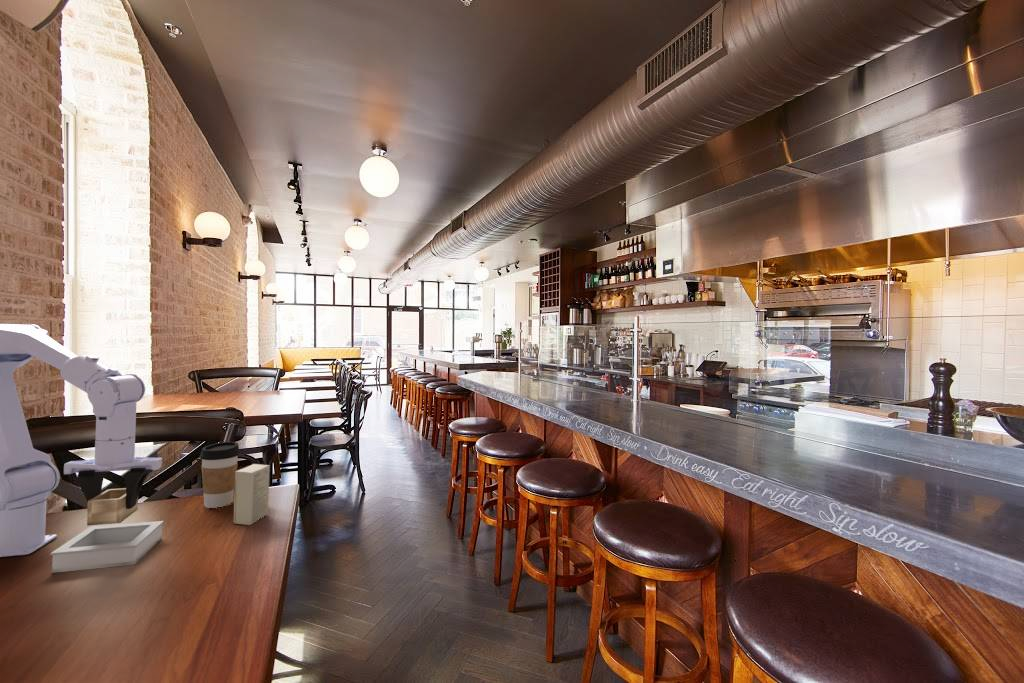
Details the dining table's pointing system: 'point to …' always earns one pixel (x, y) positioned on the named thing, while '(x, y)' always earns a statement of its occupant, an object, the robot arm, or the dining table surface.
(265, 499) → the skincare box
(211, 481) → the coffee cup
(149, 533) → the white square tray
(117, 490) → the birch crate
